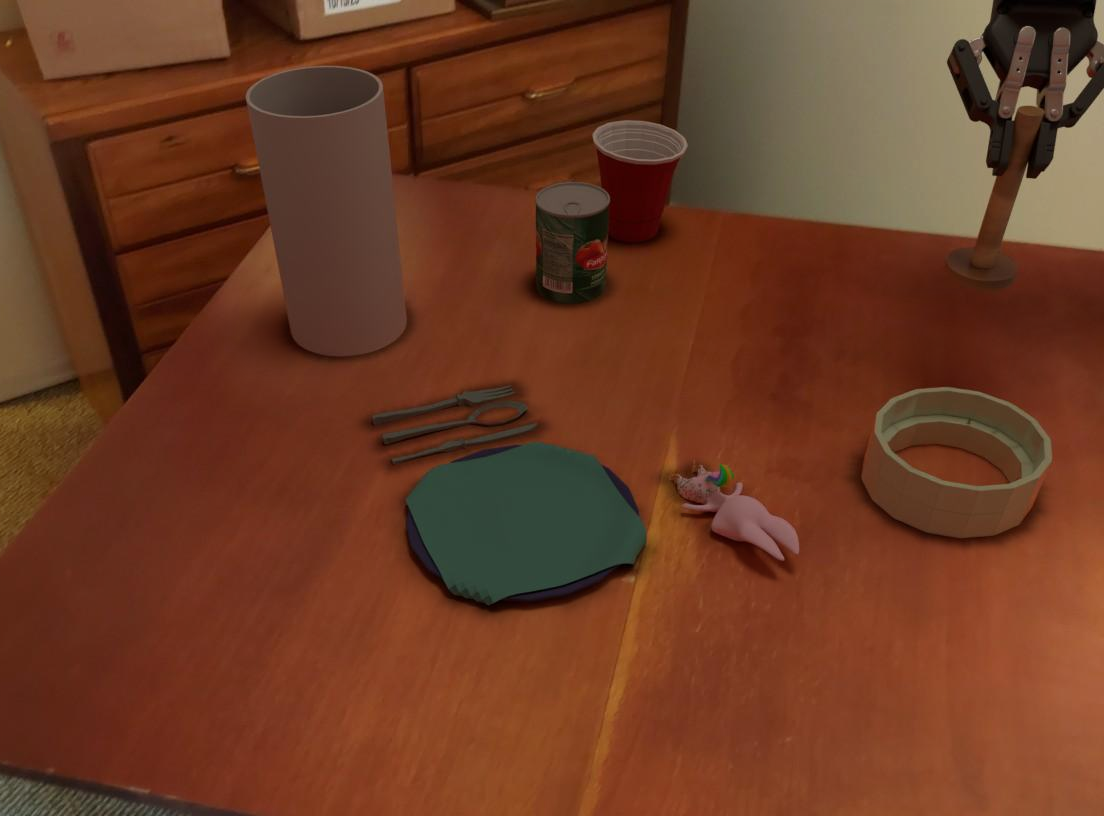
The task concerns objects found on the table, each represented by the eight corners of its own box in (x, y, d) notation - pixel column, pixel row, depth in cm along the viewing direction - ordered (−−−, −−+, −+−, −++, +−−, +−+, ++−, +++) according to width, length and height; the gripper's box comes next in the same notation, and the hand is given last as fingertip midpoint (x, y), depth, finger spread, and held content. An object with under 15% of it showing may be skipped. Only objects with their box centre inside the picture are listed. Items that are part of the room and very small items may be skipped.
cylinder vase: (391, 367, 110) (362, 120, 92) (276, 358, 112) (225, 114, 94) (419, 305, 118) (397, 68, 101) (312, 297, 120) (272, 63, 102)
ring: (903, 422, 101) (919, 369, 97) (1053, 482, 94) (1077, 427, 90) (831, 498, 94) (845, 444, 89) (988, 568, 87) (1011, 513, 83)
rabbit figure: (652, 505, 96) (758, 587, 85) (651, 447, 92) (761, 525, 81) (709, 483, 98) (820, 561, 86) (710, 425, 94) (825, 498, 83)
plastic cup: (676, 261, 124) (686, 158, 115) (584, 256, 125) (587, 154, 117) (680, 217, 131) (690, 118, 123) (593, 213, 133) (596, 115, 124)
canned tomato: (536, 274, 122) (535, 181, 115) (604, 274, 122) (609, 180, 114) (535, 311, 117) (534, 215, 109) (606, 310, 117) (611, 214, 109)
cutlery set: (450, 643, 83) (448, 623, 81) (352, 429, 103) (348, 410, 101) (679, 576, 87) (681, 556, 86) (542, 384, 107) (542, 364, 105)
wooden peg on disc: (959, 250, 96) (1008, 89, 86) (1025, 270, 94) (1083, 106, 83) (931, 277, 93) (978, 113, 83) (998, 298, 90) (1055, 132, 80)
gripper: (971, -77, 82) (937, 148, 82) (1165, -71, 79) (1129, 161, 80) (948, -21, 89) (917, 185, 90) (1125, -14, 87) (1092, 197, 87)
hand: (1017, 172), depth 85 cm, fingers closed on wooden peg on disc
